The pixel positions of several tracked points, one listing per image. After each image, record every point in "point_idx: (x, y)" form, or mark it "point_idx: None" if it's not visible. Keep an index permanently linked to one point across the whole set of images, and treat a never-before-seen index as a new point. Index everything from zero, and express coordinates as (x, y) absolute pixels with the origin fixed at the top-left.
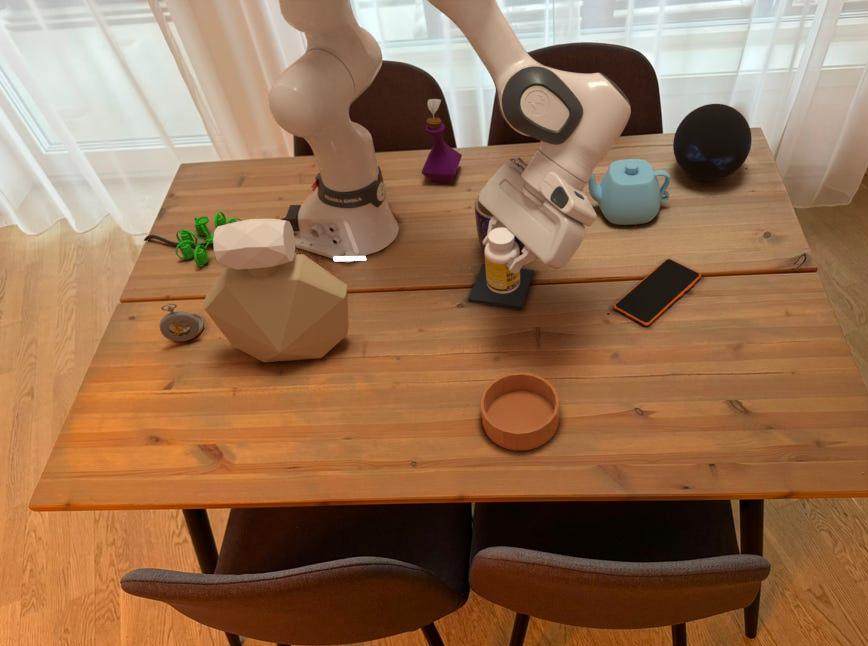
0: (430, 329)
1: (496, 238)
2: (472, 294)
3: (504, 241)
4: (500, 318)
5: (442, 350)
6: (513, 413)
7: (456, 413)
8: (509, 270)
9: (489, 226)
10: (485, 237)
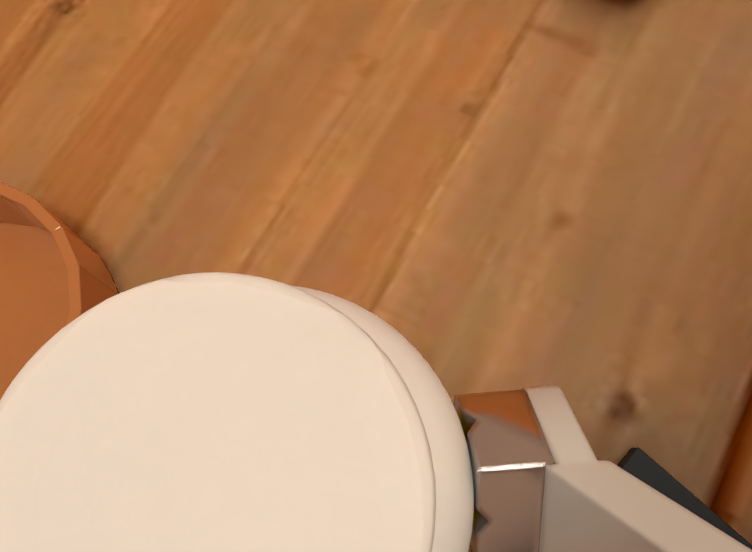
0: (548, 252)
1: (174, 381)
2: (655, 476)
3: (19, 466)
4: None
5: (427, 246)
6: (15, 326)
7: (146, 174)
8: None
9: (681, 523)
10: (575, 423)
